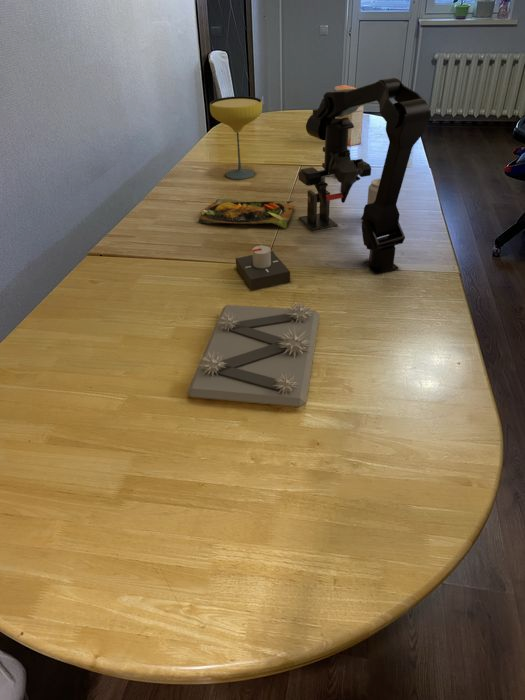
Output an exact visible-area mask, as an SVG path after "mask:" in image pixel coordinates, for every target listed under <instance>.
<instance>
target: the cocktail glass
mask: <svg viewBox="0 0 525 700" xmlns="http://www.w3.org/2000/svg"><path fill="white" fill-rule="evenodd" d="M262 101H263V100H262V99H260V98H259V97H254V96H247V95H244V96H243V95H240V96H239V95H238V96H225V97H220V98H216V99H214V100H212V101H210V102H209V111H210V115H211V117H212V118H214V120H216V121H218V122H219V123H222V124H223V125H226V126H228V127H229V128H231V130H233V132H234V133H236V140H237V141H236V142H237V157H238V159H237V162H238V163H237V169H232V170H229V171H227V172H225V176H226V178H228V179H231V180H238V181H239V180H247V179H250V178H253V177H254V176H255V174H256V173H255V172H254V170H252V169H245V168H242V162H241V152H240V151H241V149H240V134H239V133H241V132H242V130H243V129H244V127H245V126H247V125H248V124H250V123H252V122H253V121H255V120H256V119H258V118H259V117H260V115H261V114H262V112H263V102H262Z"/></svg>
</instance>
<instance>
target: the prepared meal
mask: <svg viewBox="0 0 525 700" xmlns="http://www.w3.org/2000/svg"><path fill="white" fill-rule="evenodd" d="M293 202H295V201H294V200H291V201H290V200H289V201H288V200H286V201H285V200H269V201H241V200H235V199H229V198H217V199H216V200H215V201H214V202H212V203H211V204H210V205H208V206H206V207H205V208H204V209H203V210H202V212H201V213H200V215H199V217H198V223H203V224H234V225H261V224H274V225H276V226H277V227H280V228H283V229H285V230H287V228H288V222H289V220H290V218H291V217H292V215H293V212H294V210H295V208H296V207H297V206H296V205H295V204H291V203H293Z"/></svg>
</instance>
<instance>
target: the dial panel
mask: <svg viewBox="0 0 525 700" xmlns="http://www.w3.org/2000/svg"><path fill="white" fill-rule="evenodd" d="M235 268H236V271H237V272H238V273H239V275H240V276H241V277H242V279H243V281H244V282H245V283H246V285H247V286H248V288H249V289H250V291H256V290H260V289H264V288H270V287H273V286H278V285H283V284H288V283H290V282H291V271H290V269H289V268H288V267H287V266H286V265H285V264H284V263H283V262H282V261H281V259H280V258H279V257H278V255H276V253H274V251H273V250H271V265H270V266H269V267H267V268H262V269H261V268H256V267H254V266H253V254H250V255H246V256H240V257H236V258H235Z"/></svg>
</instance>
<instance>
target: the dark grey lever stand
mask: <svg viewBox="0 0 525 700" xmlns="http://www.w3.org/2000/svg"><path fill="white" fill-rule="evenodd" d="M326 195H331V192H330V191H329V190H327V189H326ZM330 202H331V200H329V201H326V206H323V205H322V202H319V213H318V202H317V193H315V192H314V191H313V190H311V189H309V190H307V206H306V207H307V211H306V212H307V213H306V215H303V216H299V217H298V220H299V221H300V222H302V223H303V224H304V225H305V226H306V227H307V228H308V229H309V230H311V232H316V231H320V230H321V231H322V230H326V229H331V228H337V227H338V226H339V225H338V224H337V223H336V222H335V221H334V220H333V219H332V218H331V217H330V204H331V203H330Z"/></svg>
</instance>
